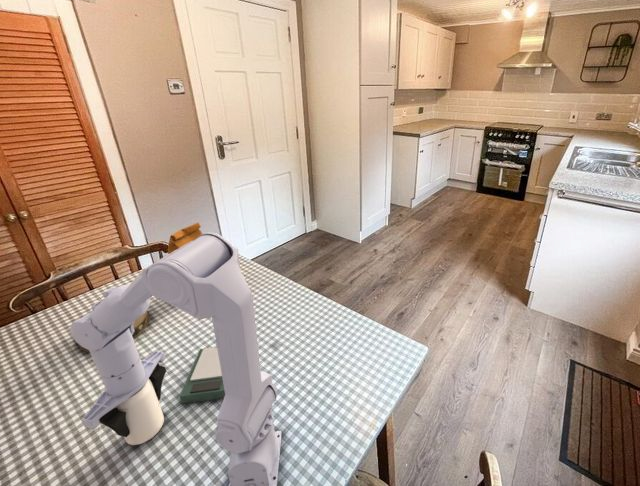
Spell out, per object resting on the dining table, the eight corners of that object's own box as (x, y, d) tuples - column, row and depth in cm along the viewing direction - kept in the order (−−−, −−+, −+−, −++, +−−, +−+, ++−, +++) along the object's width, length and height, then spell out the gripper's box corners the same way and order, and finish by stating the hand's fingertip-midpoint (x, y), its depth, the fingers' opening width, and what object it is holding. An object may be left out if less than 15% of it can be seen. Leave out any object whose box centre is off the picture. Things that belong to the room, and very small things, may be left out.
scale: (230, 396, 67) (228, 388, 66) (181, 403, 65) (178, 395, 64) (242, 350, 79) (241, 342, 78) (201, 355, 77) (199, 347, 76)
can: (130, 420, 62) (112, 378, 58) (166, 408, 65) (152, 366, 60) (121, 452, 57) (101, 408, 52) (162, 437, 59) (146, 394, 55)
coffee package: (224, 278, 109) (213, 222, 101) (194, 298, 98) (179, 238, 90) (203, 272, 113) (191, 218, 104) (172, 291, 102) (156, 233, 94)
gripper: (137, 331, 61) (154, 379, 66) (56, 396, 48) (85, 450, 53) (167, 336, 60) (182, 385, 65) (91, 405, 47) (117, 460, 52)
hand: (140, 415), depth 59 cm, fingers closed on can, 6 cm apart
